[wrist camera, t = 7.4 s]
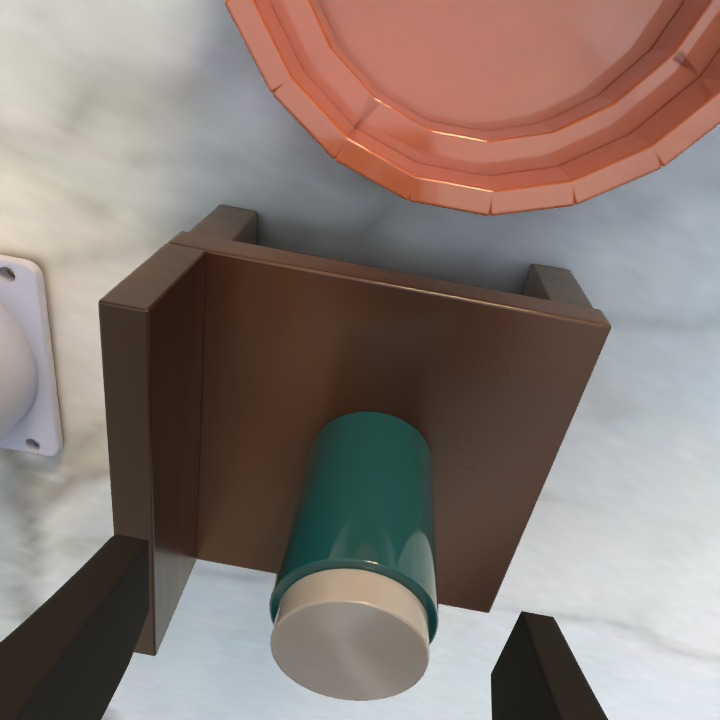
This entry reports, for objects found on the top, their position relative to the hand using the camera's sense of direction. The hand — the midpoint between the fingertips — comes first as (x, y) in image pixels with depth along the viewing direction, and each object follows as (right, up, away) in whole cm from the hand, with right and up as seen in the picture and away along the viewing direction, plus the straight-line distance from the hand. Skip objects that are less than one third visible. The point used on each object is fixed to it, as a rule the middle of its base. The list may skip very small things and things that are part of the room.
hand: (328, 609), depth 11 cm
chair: (+1, +4, +9) cm, 10 cm away
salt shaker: (+1, +2, +6) cm, 6 cm away
